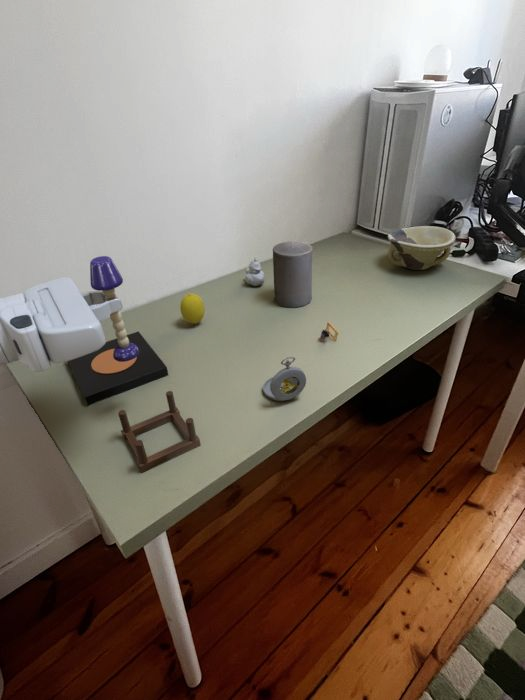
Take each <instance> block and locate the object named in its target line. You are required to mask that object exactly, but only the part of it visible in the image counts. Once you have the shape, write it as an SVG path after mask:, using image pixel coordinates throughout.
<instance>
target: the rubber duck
mask: <svg viewBox="0 0 525 700" xmlns="http://www.w3.org/2000/svg"><path fill="white" fill-rule="evenodd" d="M260 263H261V262H259V260H258V259H256V257H254V259H253V260H251V261H250V263H249V264H248V268H246V269H245V276H244V279H245V282H246V283H247V284H249V285H251V286H253V287H258V286H260V285H262V284H264V282H265V279H266V276H265V273H264V271H263V270H262V266H261V264H260Z"/></svg>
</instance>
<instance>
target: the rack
mask: <svg viewBox="0 0 525 700" xmlns="http://www.w3.org/2000/svg"><path fill="white" fill-rule="evenodd" d="M165 397H166V403H167V406H168V410H167V411H164V412H162V413H159V414H157V415H154V416H152V417H150V418H148V419H145V420H142V421H140V422H138V423H136V424H133V425H130V421H129V417H128V415H127V412H126V410H125V409H120V410H119V411H118V412H117V414H118V419H119V421H120V423H121V428H122V430H120V432H121V435H122V437H123V440H124V441H125V442H127V443H128V445H129V447H130V449H131V450H132V453H133V455H134V457H135V459H136V463H137V466H138V469H139V471H140V473H141V474H143V473H145V472H147V471H149V470H151V469H153V468H155V467H158V466H160V465H161V464H164V463H167V462H168V461H170V460H172V459H174V458H177V457H179V456H181V455H183V454H185V453H187V452H189V451H192V450H194V449H195V448H198V447H200V446H202V445H201V440H200V437H199V436H198V434H197V432H196V427H195V422H194V419H193V418H192V417H187V418H186V419H185V420H184V418H183V417H182V415H181V413H180V410H179V409H178V407H177V406H176V400H175V396H174V392H173V391H172V390H168V391H166V392H165ZM172 421H173V423H174V424H175V426H176V428H177V429H178V430H179V432H180V433H181V434H182V436H183V438H184V439H183V440H181V441H179V442H177V443H174V444H173V445H171V446H168V447H166V448H164V449H162V450H160V451H157V452H155V453H153V454H151V455H149V456H147V451H146V449H145V445H144V442H143V439H137V437H138V436H140V435H142V434H144V433H147V432H149V431H152V430H154V429H156V428H158V427H160V426H163V425H165V424H168V423H170V422H172Z"/></svg>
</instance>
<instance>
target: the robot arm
mask: <svg viewBox="0 0 525 700" xmlns="http://www.w3.org/2000/svg"><path fill="white" fill-rule="evenodd" d="M114 294H115V295H116V293H114ZM123 308H124V306H123V303H122V300H121V299H120V298H119V297H118V296H117V295H116V296H115V297H113V298H108V299H107V301H105V295H104V293H103V291H98V290H87V291H84V292H80V290H79V288H78V287H77V285H76V284H75V282H74V281H73V279H72V278H71V277H58V278H55V279H52V280H49V281H45V282H42V283H39V284H36V285H34V286H30V287H29V288H26V289H25V290H24V291H23V293H22V292H20V293H16V294H12V295H7V296H3V297H0V365H8V364H10V363H11V364H12V363H14V362H16V361H18V362H19V363H21V364H23V365H24V366H26V367H27V368H29V369H30V370H32V371H33V372H34V373H41V372H44V371H46V370H49V369H50V368H51V367H52V363H53V364H61V363H62V364H63V363H65V362H68V361H70V360H73V359H76V358H79V357H82V356H84V355H87V354H90V353H92V352H95V351H97V350H99V349H100V348H101V347H103V346H104V345H105V344H106V342H107V340H106V337H105V332H104V330H103V326H102V323H101V321H103V320H105V319H106V318H108V317H110V314H112V313H113V312H116V311H120V312H121V311H122V310H123Z"/></svg>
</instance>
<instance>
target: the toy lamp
mask: <svg viewBox="0 0 525 700" xmlns="http://www.w3.org/2000/svg"><path fill="white" fill-rule="evenodd" d="M89 271H90V272H89V274H90V276H89V277H90V279H89V280H90V287H91V289H92V290H93V291H103V293H104V295H105V301H107V299H108V298H113V297H115V296H116V297H117V295H116V293H115V292H116V288H118V287H120V286H121V285H123V283H124V279H123V277H122V275H121V273H120V270H119V269H118V268H117V266H116V264H115V262H114V261H113V259H112V258H111V257H110V256H107V255H101V256H97V257H94V258H93V259H91V260H90V263H89ZM114 293H115V294H114ZM109 318H110V320H111V322H112V328H113V329H114V330H115V331H114V333H115V337H116V339H117V338H118V344H119V345H117V347H116V348H115V349H114V352H113V357H114V359H115V360H116V361H119V362H125V361H129V360H132V359H134V358H136V357H137V356H138V354H139V349H138V347H137V346H136V345H135V344H133V343H130V342H129V339H128V337H127V335H128V333H127V330H126V328H125V321H124V320H123V315H122V313H121V310H120V311H116V312H113V313H112V314H110V315H109Z"/></svg>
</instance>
